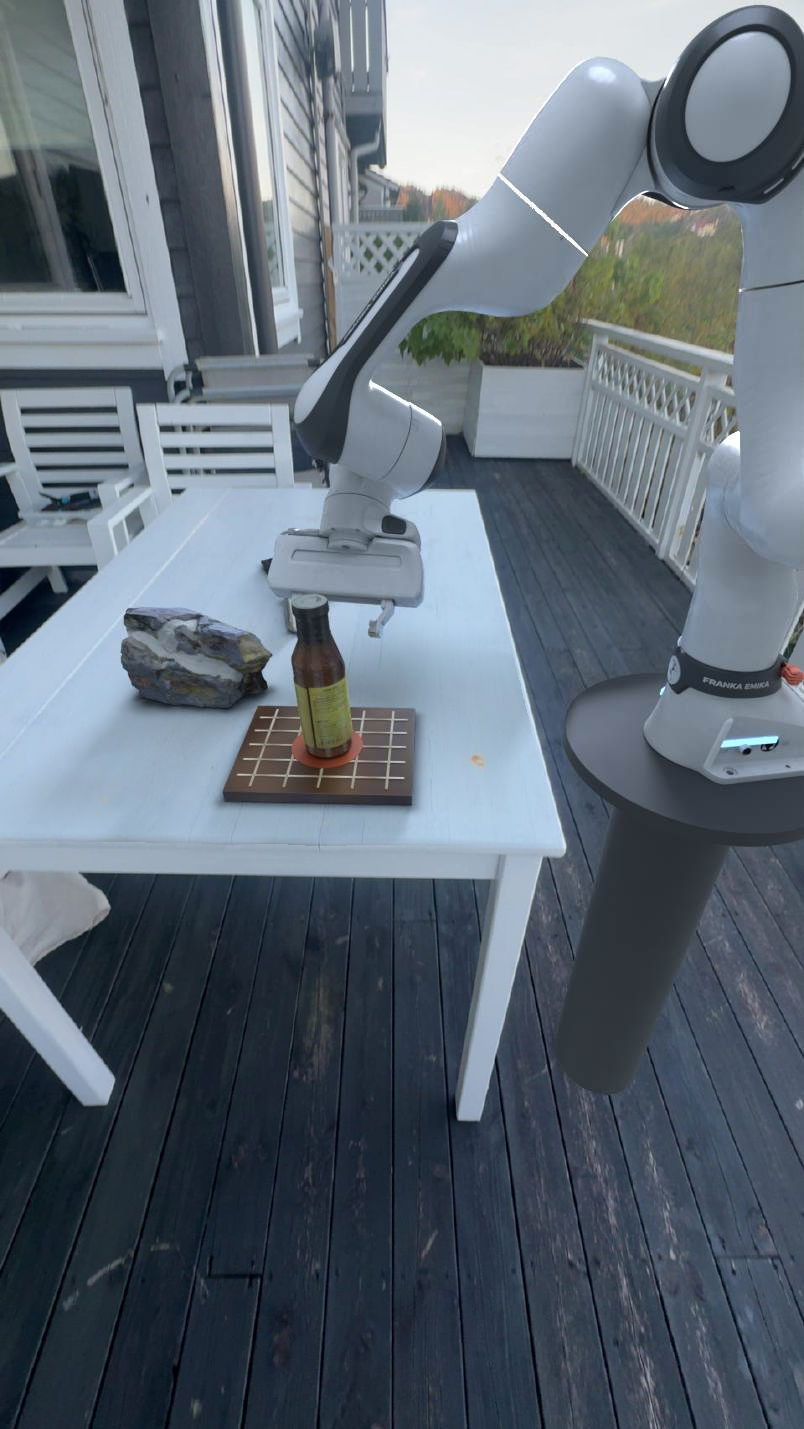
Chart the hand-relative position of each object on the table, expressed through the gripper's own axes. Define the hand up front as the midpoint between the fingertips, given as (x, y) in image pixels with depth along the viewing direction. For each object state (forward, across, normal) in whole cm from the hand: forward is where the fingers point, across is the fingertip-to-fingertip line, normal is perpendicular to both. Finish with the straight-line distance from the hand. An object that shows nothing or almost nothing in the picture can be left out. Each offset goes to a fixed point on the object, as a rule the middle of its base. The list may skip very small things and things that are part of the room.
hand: (338, 633), depth 79 cm
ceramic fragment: (-11, -18, +31) cm, 37 cm away
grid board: (+15, 0, +4) cm, 16 cm away
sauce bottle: (+14, 0, +3) cm, 14 cm away
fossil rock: (+8, -22, +11) cm, 26 cm away
